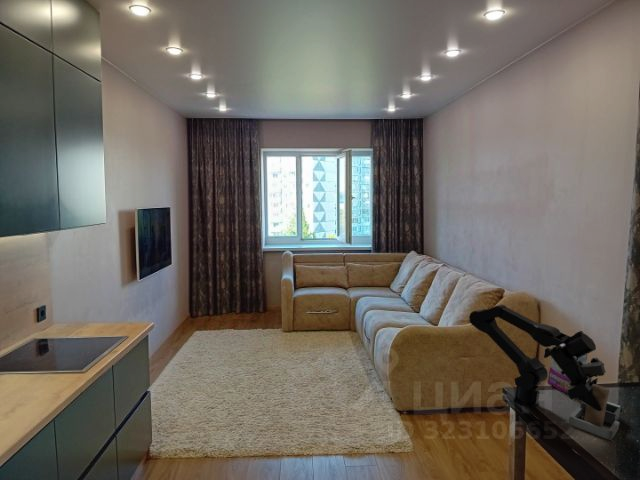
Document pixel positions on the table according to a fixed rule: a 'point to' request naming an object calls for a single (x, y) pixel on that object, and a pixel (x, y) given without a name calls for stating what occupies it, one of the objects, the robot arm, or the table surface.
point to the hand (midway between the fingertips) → (601, 407)
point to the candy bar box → (557, 378)
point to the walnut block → (601, 397)
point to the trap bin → (606, 413)
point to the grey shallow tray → (592, 425)
